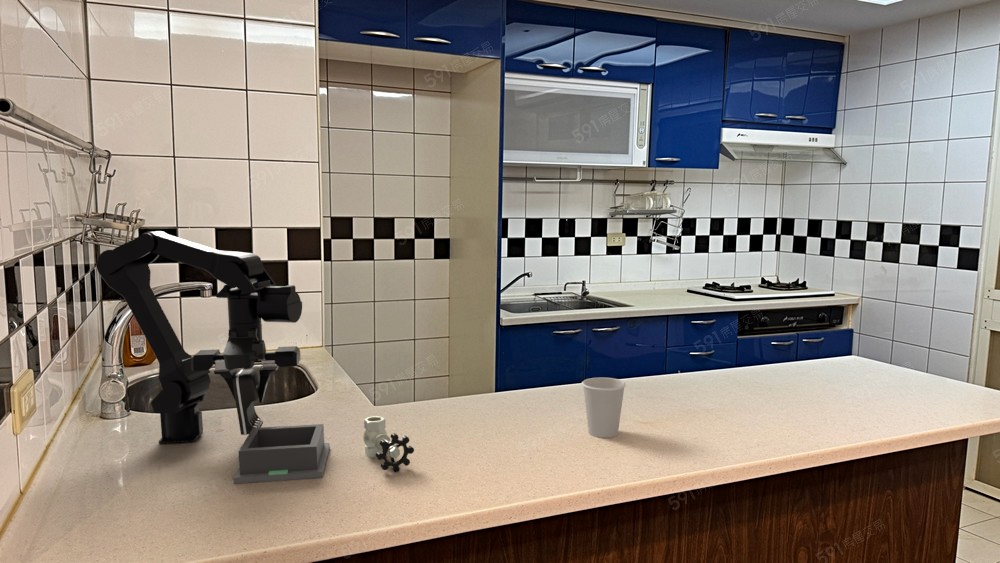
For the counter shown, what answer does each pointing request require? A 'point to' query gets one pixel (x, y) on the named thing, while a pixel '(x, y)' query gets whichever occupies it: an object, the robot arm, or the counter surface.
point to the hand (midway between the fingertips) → (249, 403)
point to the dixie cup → (603, 405)
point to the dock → (282, 454)
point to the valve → (384, 444)
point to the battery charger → (247, 399)
